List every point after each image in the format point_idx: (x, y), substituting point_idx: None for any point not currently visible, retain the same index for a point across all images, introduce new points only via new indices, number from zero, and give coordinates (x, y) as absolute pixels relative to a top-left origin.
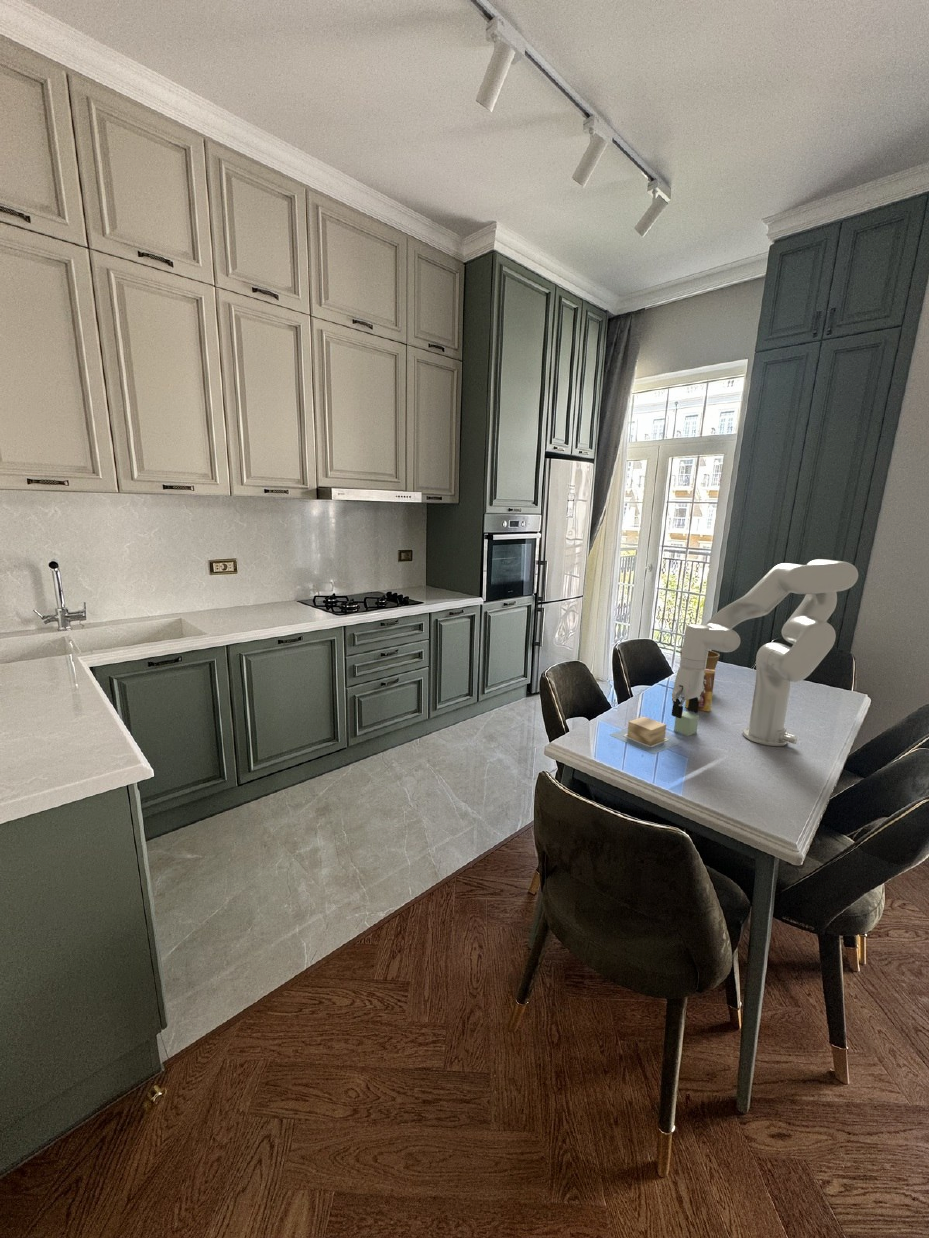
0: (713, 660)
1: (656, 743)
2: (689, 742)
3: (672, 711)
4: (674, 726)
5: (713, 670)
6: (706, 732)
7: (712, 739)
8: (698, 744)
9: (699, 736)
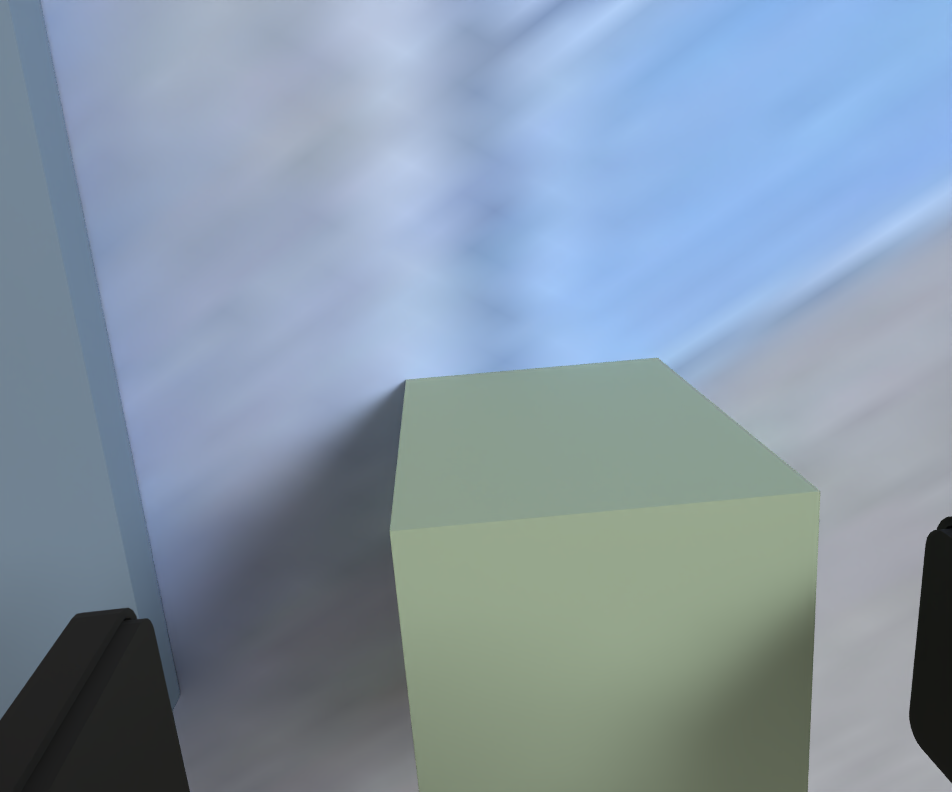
0: None
1: None
2: (350, 678)
3: (33, 695)
4: (402, 419)
5: None
6: (919, 576)
7: None
8: (408, 765)
9: None
